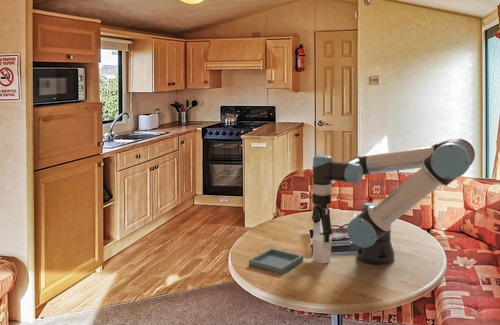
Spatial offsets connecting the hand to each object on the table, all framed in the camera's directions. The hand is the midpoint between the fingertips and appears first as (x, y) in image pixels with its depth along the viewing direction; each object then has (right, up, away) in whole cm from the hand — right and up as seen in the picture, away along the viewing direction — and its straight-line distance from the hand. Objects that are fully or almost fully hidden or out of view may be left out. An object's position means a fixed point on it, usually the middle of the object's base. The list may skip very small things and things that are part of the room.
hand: (321, 243), depth 196 cm
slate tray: (-18, -8, -1) cm, 20 cm away
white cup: (+1, -8, +1) cm, 8 cm away
